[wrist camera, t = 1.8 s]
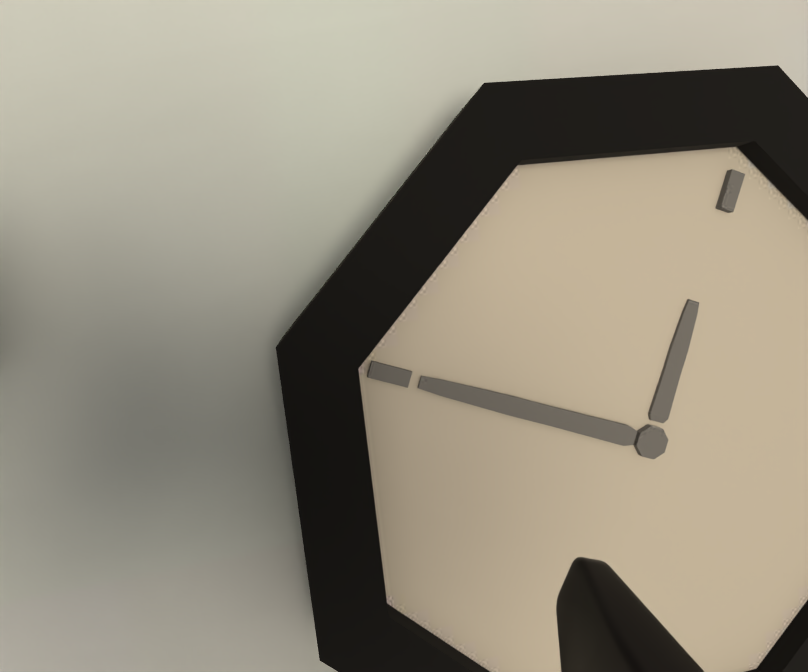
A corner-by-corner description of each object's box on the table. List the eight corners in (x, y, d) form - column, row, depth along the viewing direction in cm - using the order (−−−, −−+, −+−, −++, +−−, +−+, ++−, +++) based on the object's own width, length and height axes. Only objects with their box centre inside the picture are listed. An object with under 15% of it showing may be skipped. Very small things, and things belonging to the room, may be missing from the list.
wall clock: (846, 835, 24) (164, 758, 19) (789, 776, 27) (184, 694, 22) (1067, 189, 23) (397, -98, 17) (982, 200, 26) (385, -43, 20)
